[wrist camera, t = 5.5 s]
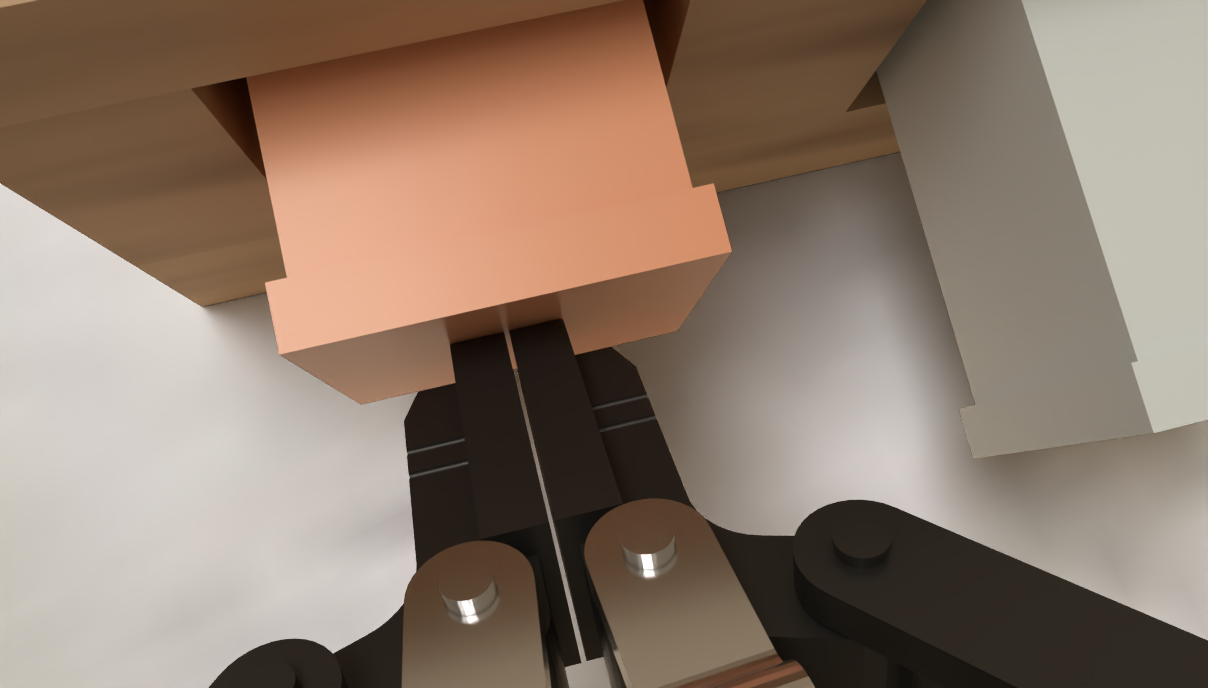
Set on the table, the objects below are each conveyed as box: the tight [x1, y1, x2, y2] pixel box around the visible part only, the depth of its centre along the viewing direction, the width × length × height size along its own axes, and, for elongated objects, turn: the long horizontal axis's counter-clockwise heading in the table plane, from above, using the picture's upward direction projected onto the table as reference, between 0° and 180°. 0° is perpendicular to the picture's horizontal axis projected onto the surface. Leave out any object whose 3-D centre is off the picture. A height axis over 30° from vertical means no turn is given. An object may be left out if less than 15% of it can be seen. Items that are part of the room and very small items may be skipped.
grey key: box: [876, 0, 1208, 459], centre depth 15 cm, size 7×5×5 cm
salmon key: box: [246, 0, 732, 405], centre depth 14 cm, size 7×5×5 cm
